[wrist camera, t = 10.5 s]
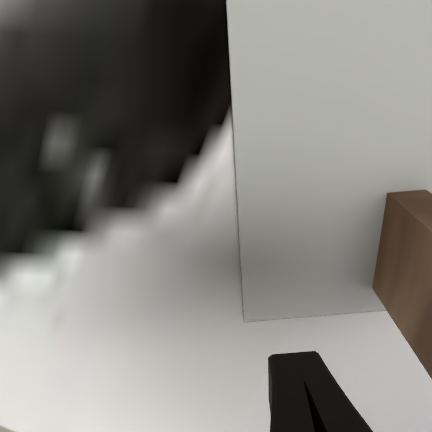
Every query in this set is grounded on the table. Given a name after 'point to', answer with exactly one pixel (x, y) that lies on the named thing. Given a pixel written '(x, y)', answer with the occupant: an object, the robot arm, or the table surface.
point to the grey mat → (324, 144)
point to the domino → (407, 268)
